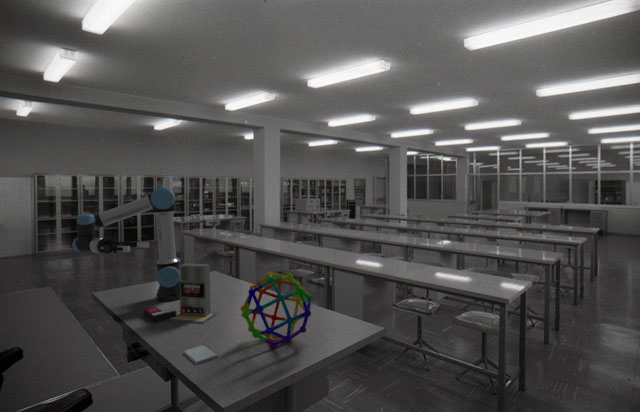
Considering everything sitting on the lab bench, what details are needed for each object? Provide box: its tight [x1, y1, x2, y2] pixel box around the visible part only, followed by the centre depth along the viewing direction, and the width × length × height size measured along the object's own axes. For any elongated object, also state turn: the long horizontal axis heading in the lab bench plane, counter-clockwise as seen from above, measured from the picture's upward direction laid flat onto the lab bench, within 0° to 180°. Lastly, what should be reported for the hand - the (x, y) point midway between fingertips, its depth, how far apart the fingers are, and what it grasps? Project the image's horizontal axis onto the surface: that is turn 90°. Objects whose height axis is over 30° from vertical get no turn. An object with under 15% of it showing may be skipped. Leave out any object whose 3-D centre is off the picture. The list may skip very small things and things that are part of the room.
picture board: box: [165, 310, 218, 324], centre depth 183 cm, size 14×21×1 cm, turn 78°
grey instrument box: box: [179, 263, 212, 316], centre depth 185 cm, size 14×6×25 cm, turn 81°
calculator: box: [142, 305, 177, 324], centre depth 183 cm, size 11×4×15 cm
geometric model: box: [240, 271, 314, 349], centre depth 151 cm, size 30×30×30 cm
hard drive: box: [183, 344, 218, 365], centre depth 140 cm, size 2×8×12 cm
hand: (139, 246), depth 181 cm, fingers open, 13 cm apart
